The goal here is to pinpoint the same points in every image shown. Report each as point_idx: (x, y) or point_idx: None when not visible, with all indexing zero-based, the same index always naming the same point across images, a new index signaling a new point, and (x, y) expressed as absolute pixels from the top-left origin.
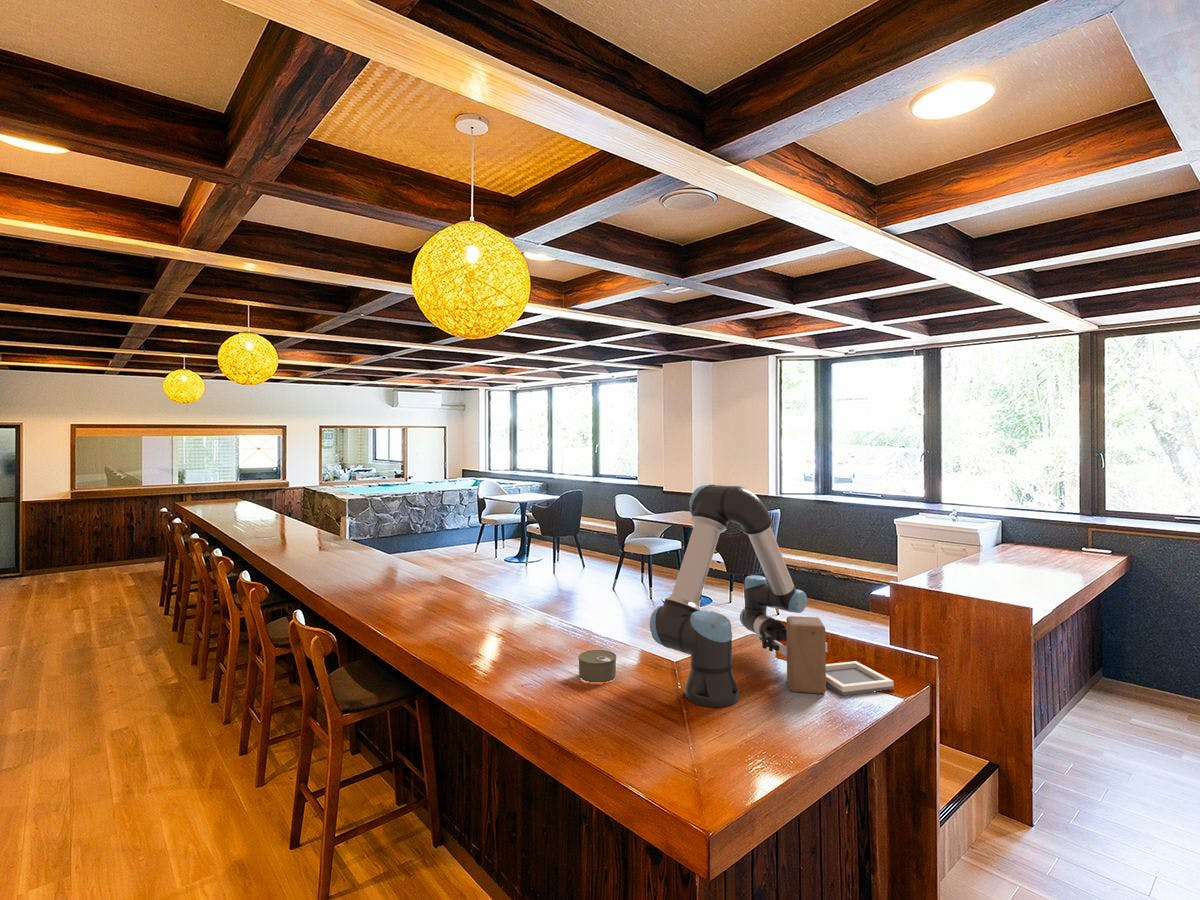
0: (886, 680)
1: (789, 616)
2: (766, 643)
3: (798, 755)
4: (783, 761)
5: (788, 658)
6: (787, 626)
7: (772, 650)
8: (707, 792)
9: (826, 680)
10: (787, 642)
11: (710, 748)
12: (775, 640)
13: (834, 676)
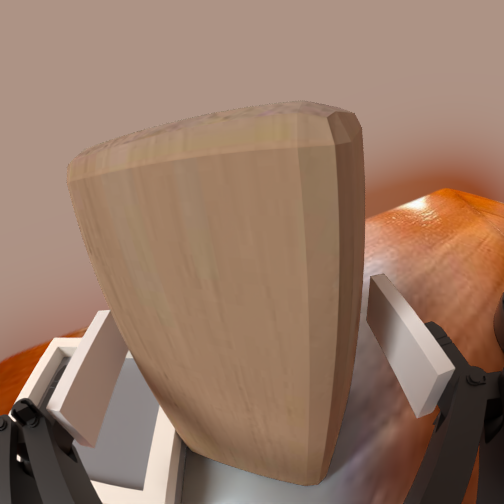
0: (61, 342)
1: (308, 102)
2: (494, 377)
3: (384, 223)
4: (402, 217)
5: (353, 351)
6: (359, 178)
7: (437, 416)
8: (459, 200)
9: None
10: (355, 314)
11: (480, 228)
12: (441, 370)
13: (121, 440)
